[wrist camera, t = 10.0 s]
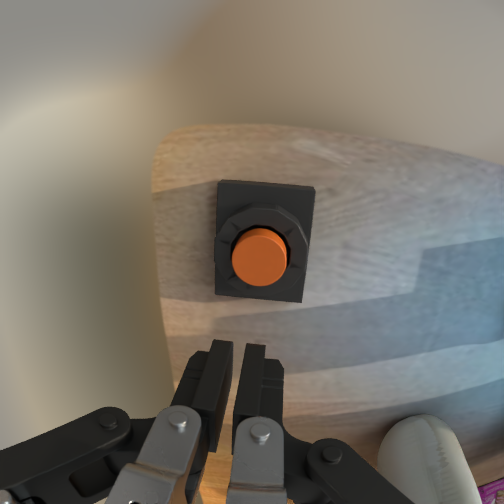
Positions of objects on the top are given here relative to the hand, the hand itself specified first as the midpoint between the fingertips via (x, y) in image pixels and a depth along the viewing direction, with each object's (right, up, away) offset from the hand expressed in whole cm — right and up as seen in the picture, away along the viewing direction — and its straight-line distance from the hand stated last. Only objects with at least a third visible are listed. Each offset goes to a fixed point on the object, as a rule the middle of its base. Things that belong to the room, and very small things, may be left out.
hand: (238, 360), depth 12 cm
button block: (+1, +5, +14) cm, 15 cm away
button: (+1, +4, +11) cm, 12 cm away
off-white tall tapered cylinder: (+20, -18, +21) cm, 34 cm away
